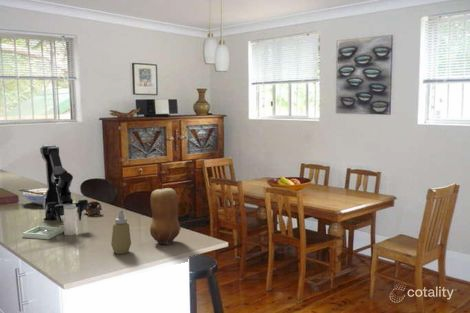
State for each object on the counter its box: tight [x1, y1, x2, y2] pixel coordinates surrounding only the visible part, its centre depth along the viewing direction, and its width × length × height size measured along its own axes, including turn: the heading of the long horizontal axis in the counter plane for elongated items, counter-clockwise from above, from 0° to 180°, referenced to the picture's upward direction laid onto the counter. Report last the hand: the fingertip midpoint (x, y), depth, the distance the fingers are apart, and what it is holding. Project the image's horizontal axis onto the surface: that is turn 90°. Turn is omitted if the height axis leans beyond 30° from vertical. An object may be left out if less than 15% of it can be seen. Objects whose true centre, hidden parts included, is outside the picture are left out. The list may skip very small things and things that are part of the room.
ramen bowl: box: [18, 187, 48, 206], centre depth 273 cm, size 25×23×8 cm
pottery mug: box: [85, 200, 103, 216], centre depth 250 cm, size 12×10×8 cm
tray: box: [22, 225, 64, 240], centre depth 207 cm, size 13×13×3 cm
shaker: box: [63, 204, 77, 236], centre depth 209 cm, size 5×5×14 cm
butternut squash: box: [149, 187, 182, 245], centre depth 199 cm, size 14×13×25 cm
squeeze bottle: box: [110, 209, 132, 255], centre depth 186 cm, size 8×8×18 cm
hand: (70, 221), depth 208 cm, fingers open, 8 cm apart
